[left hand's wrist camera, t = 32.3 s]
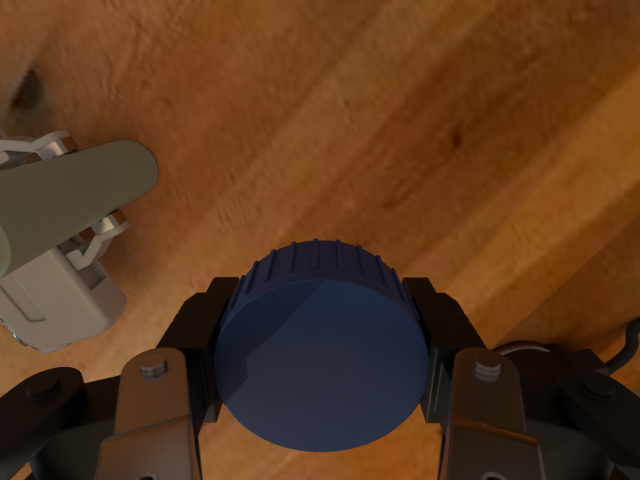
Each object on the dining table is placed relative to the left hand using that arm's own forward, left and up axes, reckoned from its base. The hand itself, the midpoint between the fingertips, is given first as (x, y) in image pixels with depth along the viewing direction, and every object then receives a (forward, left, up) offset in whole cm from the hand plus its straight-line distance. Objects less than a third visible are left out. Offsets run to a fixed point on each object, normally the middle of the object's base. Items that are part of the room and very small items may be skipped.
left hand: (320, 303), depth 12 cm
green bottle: (+15, -6, -22) cm, 28 cm away
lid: (0, 0, +3) cm, 3 cm away
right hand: (+14, -6, -15) cm, 22 cm away
